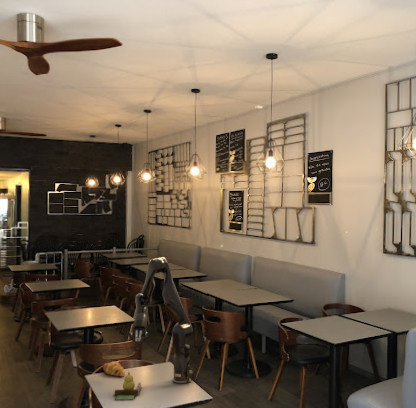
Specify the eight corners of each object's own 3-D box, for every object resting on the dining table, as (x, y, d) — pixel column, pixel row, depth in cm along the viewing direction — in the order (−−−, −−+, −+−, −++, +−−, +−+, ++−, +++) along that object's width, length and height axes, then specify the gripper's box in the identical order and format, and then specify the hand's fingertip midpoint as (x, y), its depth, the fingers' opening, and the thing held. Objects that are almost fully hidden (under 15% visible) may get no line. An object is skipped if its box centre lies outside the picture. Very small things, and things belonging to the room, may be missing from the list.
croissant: (127, 381, 272) (133, 368, 275) (115, 378, 265) (121, 364, 268) (107, 372, 286) (112, 359, 288) (94, 368, 279) (100, 355, 281)
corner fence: (140, 387, 255) (140, 382, 255) (137, 395, 244) (137, 390, 244) (118, 388, 254) (118, 382, 254) (114, 395, 243) (114, 390, 243)
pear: (135, 389, 253) (135, 369, 253) (133, 393, 246) (134, 374, 246) (123, 389, 252) (123, 370, 252) (121, 394, 246) (122, 374, 246)
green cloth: (134, 396, 244) (134, 394, 244) (132, 399, 239) (133, 398, 239) (117, 396, 243) (117, 395, 243) (115, 400, 238) (115, 399, 238)
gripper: (128, 319, 280) (124, 345, 267) (150, 318, 280) (147, 344, 268) (130, 325, 285) (126, 351, 272) (151, 325, 286) (148, 351, 273)
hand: (137, 348), depth 270 cm, fingers closed
